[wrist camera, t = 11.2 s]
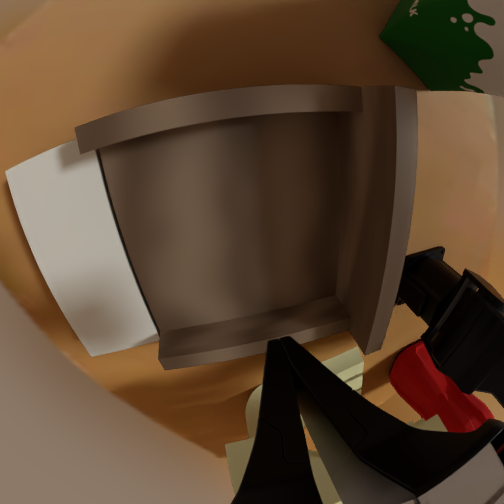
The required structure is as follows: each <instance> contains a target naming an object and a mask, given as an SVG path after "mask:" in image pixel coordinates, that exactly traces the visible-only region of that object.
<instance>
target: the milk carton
mask: <svg viewBox="0 0 504 504" xmlns="http://www.w3.org/2000/svg"><path fill="white" fill-rule="evenodd" d="M379 38H381V39H382V40H383V41H384V42H385V43H386V44H387V45H388V46H389V47H390V48H391V49H392V50H393V51H394V52H395V53H396V54H397V55H398V56H399V57H400V58H401V59H402V60H403V61H404V62H405V63H406V64H407V65H408V66H409V67H410V68H411V69H412V70H413V71H414V72H415V73H416V75H417V76H418V77H419V78H420V79H421V80H422V81H423V83H424V84H425V85H426V86H427V87H428V88H429V90H430V91H469V92H477V93H483V94H489V95H495V96H500V97H504V0H401V1H400V2H399V4H398V6H397V8H396V9H395V11H394V13H393V14H392V16H391V18H390V19H389V21H388V23H387V24H386V26H385V28H384V30H383V31H382V33H381V35H380V36H379Z"/></svg>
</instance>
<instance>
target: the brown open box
mask: <svg viewBox="0 0 504 504" xmlns="http://www.w3.org/2000/svg"><path fill="white" fill-rule="evenodd" d="M75 132H76V137H77V142H78V147H79V152H80V155H81V154H84V153H87V152H89V151H92V150H95V149H98V148H99V150H100V155H101V159H102V164H103V168H104V172H105V176H106V180H107V184H108V188H109V192H110V195H111V199H112V203H113V206H114V210H115V213H116V216H117V220H118V223H119V226H120V229H121V232H122V235H123V238H124V241H125V244H126V247H127V250H128V253H129V256H130V259H131V261H132V264H133V267H134V270H135V272H136V275H137V278H138V280H139V283H140V285H141V288H142V290H143V293H144V295H145V298H146V300H147V303H148V305H149V307H150V310H151V312H152V314H153V317H154V319H155V321H156V323H157V325H158V328H159V330H160V341H159V355H158V359H159V361H160V363H161V365H162V366H163V368H164V370H171V369H178V368H186V367H192V366H199V365H205V364H211V363H217V362H222V361H228V360H233V359H238V358H243V357H248V356H252V355H257V354H262V353H266V348H267V342H268V340H272V339H279V338H281V337H285V336H291V337H292V338H293V339H294V340H295V341H296V342H298V343H299V344H302V343H306V342H310V341H313V340H317V339H320V338H324V337H327V336H330V335H334V334H337V333H340V332H343V331H347V330H349V331H350V333H351V335H352V336H353V338H354V339H355V341H356V342H357V344H358V346H359V347H360V349H361V350H362V352H363V354H364V355H367V354H370V353H372V352H375V351H378V350H380V349H381V347H382V344H383V341H384V338H385V335H386V331H387V328H388V325H389V321H390V318H391V315H392V311H393V307H394V304H395V300H396V296H397V292H398V288H399V284H400V279H401V275H402V270H403V266H404V261H405V256H406V250H407V245H408V239H409V233H410V226H411V219H412V212H413V203H414V194H415V183H416V169H417V146H418V115H417V93H416V89H411V88H406V87H400V86H367V87H357V86H343V85H317V84H295V85H269V86H254V87H243V88H234V89H225V90H218V91H211V92H204V93H198V94H193V95H187V96H182V97H177V98H172V99H167V100H163V101H159V102H154V103H150V104H146V105H143V106H139V107H135V108H132V109H128V110H125V111H121V112H118V113H115V114H112V115H109V116H105V117H103V118H100V119H97V120H94V121H91V122H88V123H86V124H83V125H80V126H78V127H75Z"/></svg>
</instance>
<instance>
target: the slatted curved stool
mask: <svg viewBox="0 0 504 504" xmlns="http://www.w3.org/2000/svg"><path fill="white" fill-rule="evenodd" d="M321 363H322V364H323V365H325V366H326V367H327V368H328V369H329V370H331V371H332V372H333V373H334V374H335V375H337V376H338V377H339V378H340V379H341V380H343V381H344V382H345V383H346V384H348V385H349V386H350V387H351V388H352V390H355V391H356V392H358V393H359V394H360V395H361V387H362V379H363V375H362V372H363V366H364V361H363V358H362V356H361V354H360V351H359V349H358V346H357V347H355V348H353V349H351V350H349V351H346V352H344V353H342V354H340V355H337V356H335V357H333V358H330V359H328V360H325V361H323V362H321ZM261 391H262V384H261V385H260V386H259V387H257V388H256V389H255V390H254V391H253V393H252V394H251V396H250V397H249V400H248V402H247V405H246V410H245V418H246V423H247V429H248V436H249V439H246V440H241V441H237V442H233V443H228V444H225V450H226V456H227V461H228V466H229V471H230V477H231V482H232V486H233V489H234V492H235V494H236V493H237V491H238V489H239V487H240V484H241V482H242V479H243V476H244V473H245V470H246V467H247V464H248V461H249V457H250V454H251V451H252V447H253V444H254V440H255V435H256V429H257V422H258V418H259V417H258V415H259V407H260V399H261ZM300 415H301V414H300ZM301 419H302V424H303V428H304V427H305V426H306V425H305V423H304V421H303V418H302V416H301ZM407 424H408V425H410V426H412V427H415V428H418V429H423V430H432V431H444V432H448V431H447V429H446V428H445V426H444V424H443V423H442V421H441V419H440V418H439V416H438V415H437V414H436V415H435V416H433V417H432V418H430V419H429V420H427V421H425V420H424V418H422V419H421V420H419V421H417V422H416V423H413V421H411V422H409V423H407ZM308 453H309V458H310V464H311V467H312V472H313V476H314V479H315V482H316V485H317V488H318V491H319V494H320V497H321V499H322V502H323V504H343V503H342V501H341V499H340V497H339V495H338V493H337V491H336V489H335V487H334V485H333V483H332V481H331V479H330V478H331V477H330V476H329V474H328V472H327V470H326V468H325V466H324V464H323V462H322V459H321V457H320V455H319V453H318V451H312V450H308Z"/></svg>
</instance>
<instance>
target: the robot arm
mask: <svg viewBox="0 0 504 504" xmlns="http://www.w3.org/2000/svg"><path fill="white" fill-rule="evenodd" d="M444 252H445V248H444V247H442V246H440V247H437V248H434V249H430V250H427V251H423V252H420V253H416V254H413V255H409V256H407V257H406V258H405V261H404V266H403V270H402V275H401V279H400V284H399V288H398V292H397V296H396V300H395V303H396V304H397V305H401V304H404V303H406V304H407V306H408V307H409V308H410V309H411V310H412V311H413V312H414V313H415V314H416V316H418V317H419V316H420V317H421V318H422V319H423V320H424V321H425V323H426V324H427V325H428V326H429V327H428V329H427V330H426V332H425V333H423V334H422V336H421V339H422V341H423V343H424V345H425V347H426V349H427V351H428V353H429V355H430V357H431V359H432V361H433V363H434V365H435V367H436V369H437V370H438V371H439V372H441V373H443V374H444V375H446V376H448V377H450V378H451V379H452V380H453V382H454V383H455V384H456V385H457V387H458V388H459V390H460V391H461V392H463V393H465V394H468V395H471V394H472V393H473V392H474V391H479V392H485V393H491V394H492V395H493V396H494V397H495V398H496V399H497V401H498V402H499V403H500V404H501V406H502V407H503V408H504V299H503V298H502V297H501V295H500V294H499V293H498V292H497V291H496V289H495V288H494V287H493V286H492V285H491V284H490V283H488V282H487V281H486V280H485V279H483V278H482V277H481V276H480V275H478V274H476V273H474V272H472V271H470V270H468V269H466V268H465V270H464V271H463V275H462V276H461V275H460V274H459V273H457V272H456V271H455V270H454V269H453V268H451V267H450V266H449V265H448V264H447V263H445V262H444V261H443V256H444ZM478 288H479V289H478ZM477 289H478V291H476V290H477ZM300 414H301V415H300ZM301 416H302V418H303V421H304V423H305V425H306V427H307V429H308V431H309V434H310V436H311V438H312V440H313V442H314V444H315V447H316V449H317V451H318V453H319V455H320V457H321V459H322V462H323V464H324V466H325V468H326V470H327V472H328V474H329V476H330V477H331V478H330V479H331V481H332V483H333V485H334V487H335V489H336V491H337V493H338V495H339V497H340V499H341V501H342V503H343V504H504V422H502V421H499V420H496V419H488V420H486V421H485V422H484V423H483V424H482V425H481V426H480V427H479V428H477V429H476V430H474V431H471V432H463V433H460V432H444V431H432V430H423V429H418V428H415V427H412V426H410V425H408V424H406V423H404V422H402V421H400V420H399V419H397V418H395V417H394V416H392V415H390V414H388V413H387V412H385V411H383V410H382V409H380V408H378V407H377V406H375V405H374V404H372V403H371V402H369V401H368V400H367V399H365V398H364V397H363V396H361V395H360V394H359V393H358V392H356V391H355V390H352V388H351V387H350V386H349V385H348V384H346V383H345V382H344V381H343V380H341V379H340V378H339V377H338V376H337V375H335V374H334V373H333V372H332V371H331V370H329V369H328V368H327V367H326V366H325V365H323V364H322V363H321V362H320V361H319V360H318V359H316V358H315V357H314V356H313V355H312V354H310V353H309V352H308V351H307V350H306V349H305V348H303V347H302V346H301V345H300V344H299V343H298V342H296V341H295V340H294V339H293V338H292V337H291V336H285V337H281V338H279V339H272V340H268V342H267V348H266V357H265V366H264V375H263V383H262V391H261V399H260V407H259V415H258V417H259V418H258V422H257V429H256V435H255V440H254V444H253V447H252V451H251V454H250V457H249V461H248V464H247V467H246V470H245V473H244V476H243V479H242V482H241V484H240V487H239V489H238V491H237V493H236V495H235V497H234V499H233V501H232V503H231V504H323V502H322V499H321V497H320V494H319V491H318V488H317V485H316V482H315V479H314V476H313V472H312V467H311V464H310V458H309V453H308V448H307V444H306V438H305V434H304V429H303V424H302V419H301Z"/></svg>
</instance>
